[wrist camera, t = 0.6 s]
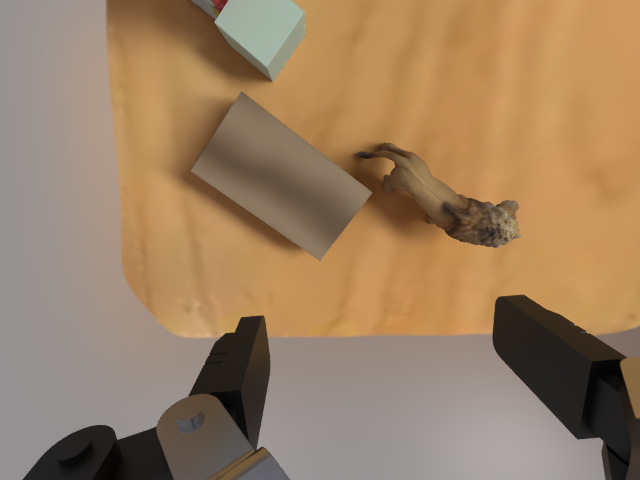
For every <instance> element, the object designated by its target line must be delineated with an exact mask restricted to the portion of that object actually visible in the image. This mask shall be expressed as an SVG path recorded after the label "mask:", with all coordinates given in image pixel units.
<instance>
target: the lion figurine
mask: <svg viewBox="0 0 640 480" xmlns="http://www.w3.org/2000/svg"><path fill="white" fill-rule="evenodd" d="M357 156H359V157H361V158H365V159H369V158H374V157H385V158H388V159H390V160H392V161H394V164H395V168H394V169H393V170H392V171H391V173H390V176H389V175H385V176H384V182H383V190H384V192H385V193H391V192H393V190H394V189H396V190H400V191H407V192H409V193H411V195H412V196H413V198H414V200H415V201H416V203H417V204H418V205H419V206H420V207H421V208H422V209H423V210H424V211H425V212H426V213H427V214H428V217H427V220H428V222H429V223H430V224H436V226H438V227H439V228H442V229H444V230H445V232H446V233H447V234H448V235H449V236H450V237H452V238H455V239H457V240H459V241H461V242H468V243H471V244H474V245H485V246H487V247H494V248H498V247H499V246H500V245H505V244H507V243H508V242H511V241H512V240H513V239H515V238H520V237H521V235H520V234H519V233H520V230H519V229H518V227H519V225H518V221H517V220H516V219H517V218H516V216H515V213H516V211H517V210H518V208H519V205H518V202H517V201H509V200H507V201H503V202H502V203H501V204H498V205H496V206H495V205H493V204H492V203H490V202H484V203H482V202H480V201H478V200H475V199H472V198H466V197H465V196H463V195H461V194H459V195H458V194H456V193H455V192H454V191H453V190H452V189H451V188H450V187H449V186H447V185H446V184H444V183H443V182H441V181H439V180H437V179H436V178H434V177H433V176H432V174H431V172H430V170H429V168H428V166H427V164H426V163H425V162H424V161H423V160H422V159H421V158H419V157H418V156H417V155H416V154H414V153H412V152H408V151H404V150H402V149H400V148H398V147H396V146H395V145H394V144H392V143H384V144H383V145H382V146H381V151H377V152H372V153H367V152H358V154H357Z"/></svg>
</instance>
